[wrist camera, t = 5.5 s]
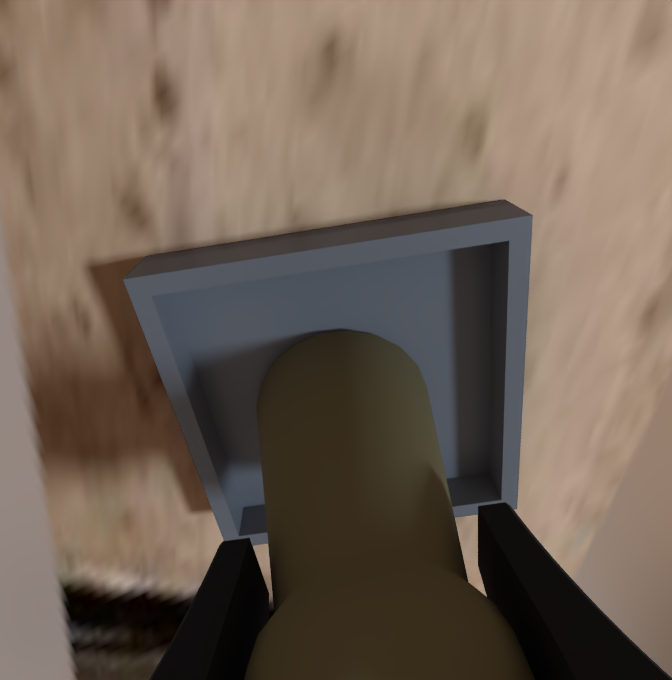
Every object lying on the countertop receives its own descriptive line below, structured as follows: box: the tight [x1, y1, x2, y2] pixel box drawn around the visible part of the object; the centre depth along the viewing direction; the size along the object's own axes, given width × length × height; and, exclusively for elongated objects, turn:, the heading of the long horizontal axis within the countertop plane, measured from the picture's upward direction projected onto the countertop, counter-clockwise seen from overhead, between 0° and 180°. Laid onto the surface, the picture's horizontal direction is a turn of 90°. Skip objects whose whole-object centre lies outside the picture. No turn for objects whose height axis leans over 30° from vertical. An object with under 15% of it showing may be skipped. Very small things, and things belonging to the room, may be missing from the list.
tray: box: [123, 200, 533, 545], centre depth 16 cm, size 11×11×2 cm
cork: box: [244, 331, 535, 680], centre depth 12 cm, size 6×6×11 cm
